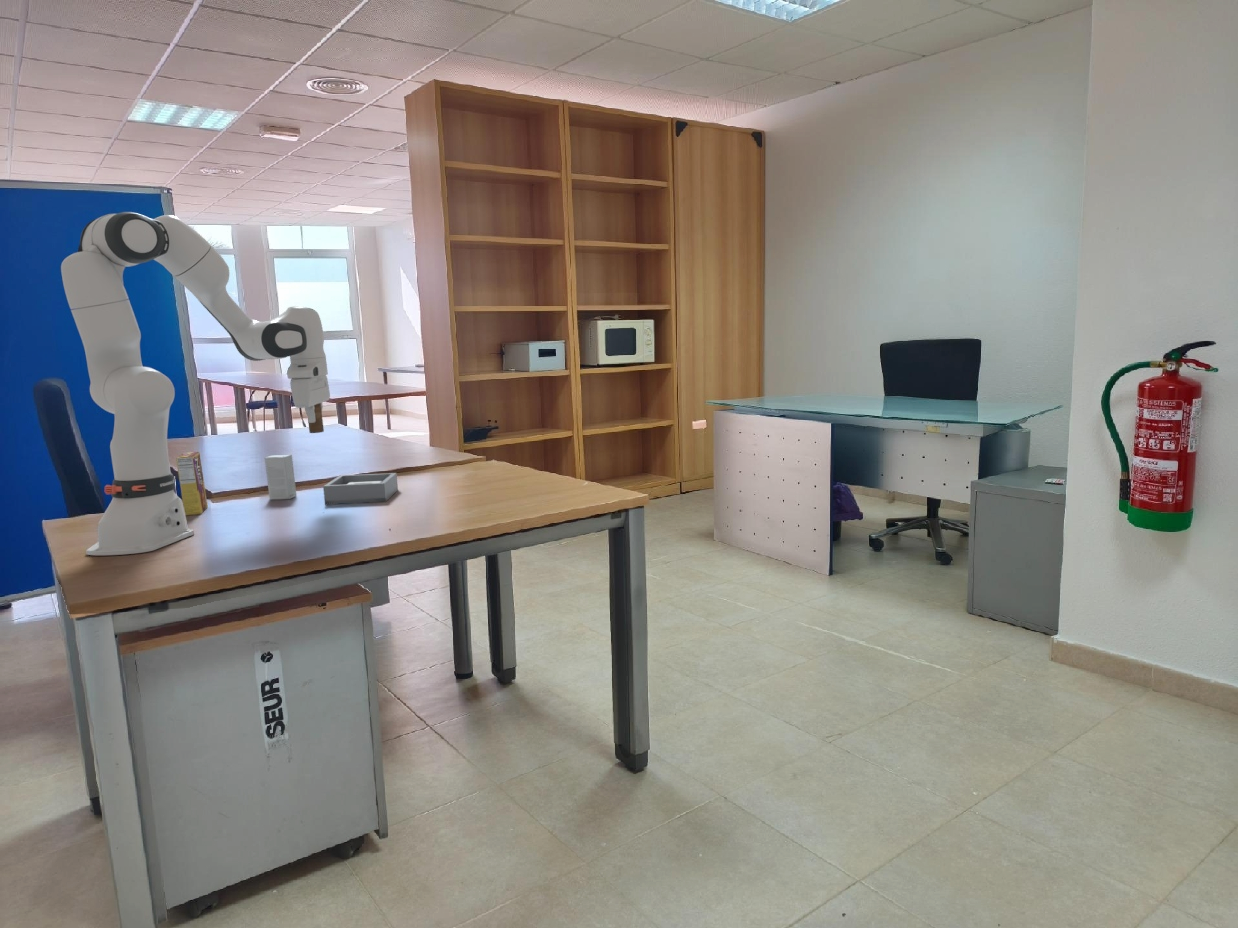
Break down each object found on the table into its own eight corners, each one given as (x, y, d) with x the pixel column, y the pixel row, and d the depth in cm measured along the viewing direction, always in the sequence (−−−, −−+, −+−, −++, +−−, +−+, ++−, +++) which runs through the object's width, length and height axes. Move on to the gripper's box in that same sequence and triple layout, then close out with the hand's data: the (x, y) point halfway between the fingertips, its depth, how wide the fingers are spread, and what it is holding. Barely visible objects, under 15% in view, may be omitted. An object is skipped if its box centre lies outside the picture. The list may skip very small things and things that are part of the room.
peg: (321, 432, 211) (318, 404, 209) (307, 433, 210) (304, 405, 209) (325, 430, 214) (322, 403, 213) (311, 431, 214) (308, 403, 213)
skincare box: (297, 496, 224) (292, 454, 222) (289, 499, 220) (284, 457, 218) (276, 496, 225) (272, 454, 223) (268, 499, 221) (264, 457, 219)
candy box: (190, 508, 212) (183, 452, 210) (208, 507, 213) (201, 451, 211) (182, 515, 204) (175, 457, 201) (201, 514, 205) (194, 456, 202)
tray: (385, 501, 213) (384, 483, 212) (324, 504, 212) (323, 486, 211) (397, 489, 228) (396, 472, 228) (341, 492, 227) (339, 475, 227)
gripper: (309, 367, 219) (315, 417, 222) (284, 372, 199) (291, 426, 202) (332, 366, 220) (338, 415, 222) (310, 371, 200) (316, 425, 202)
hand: (315, 421), depth 212 cm, fingers closed on peg, 4 cm apart
